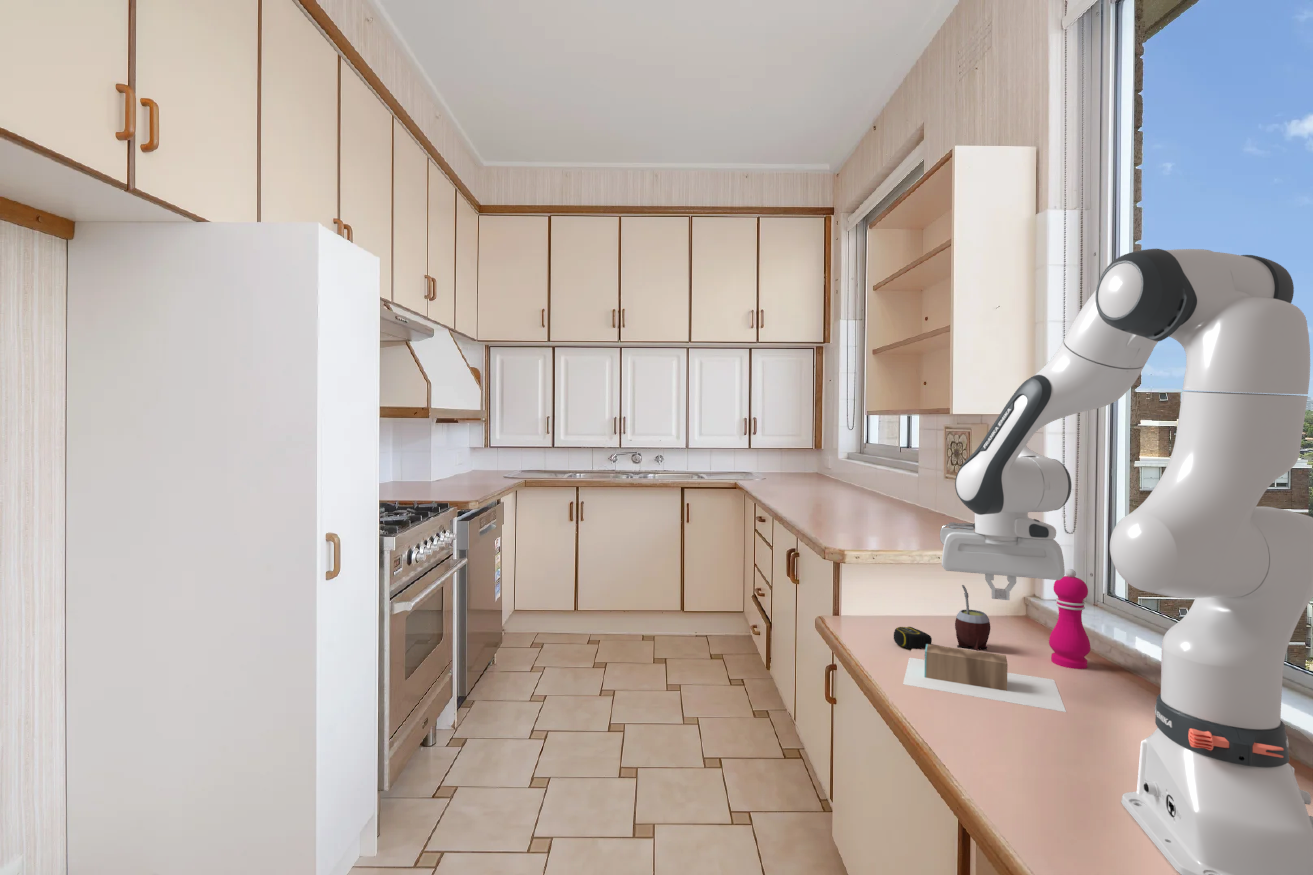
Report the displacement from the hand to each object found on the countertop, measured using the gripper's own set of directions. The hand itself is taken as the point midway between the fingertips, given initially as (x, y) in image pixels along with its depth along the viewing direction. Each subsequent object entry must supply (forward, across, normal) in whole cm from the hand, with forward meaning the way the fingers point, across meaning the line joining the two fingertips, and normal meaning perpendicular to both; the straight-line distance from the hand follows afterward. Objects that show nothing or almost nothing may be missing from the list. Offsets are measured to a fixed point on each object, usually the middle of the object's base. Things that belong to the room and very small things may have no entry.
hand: (1000, 598), depth 120 cm
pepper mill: (+17, +14, +21) cm, 30 cm away
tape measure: (+16, -17, +19) cm, 30 cm away
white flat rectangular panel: (+17, -3, +1) cm, 17 cm away
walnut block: (+14, +1, +1) cm, 14 cm away
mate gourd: (+16, -4, +23) cm, 28 cm away
